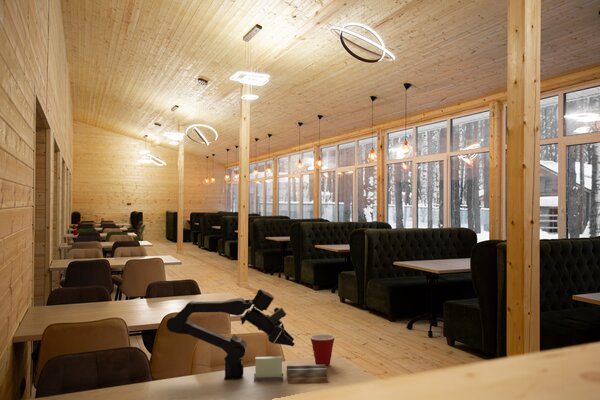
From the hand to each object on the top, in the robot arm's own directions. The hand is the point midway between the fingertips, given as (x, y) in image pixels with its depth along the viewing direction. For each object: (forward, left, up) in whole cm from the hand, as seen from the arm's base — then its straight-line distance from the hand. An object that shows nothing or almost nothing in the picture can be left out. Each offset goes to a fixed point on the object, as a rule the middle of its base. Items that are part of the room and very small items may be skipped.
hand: (293, 342), depth 174 cm
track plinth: (+5, -1, -13) cm, 14 cm away
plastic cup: (+13, +14, -13) cm, 23 cm away
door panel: (-10, -1, -13) cm, 16 cm away
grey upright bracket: (-10, -1, -13) cm, 16 cm away
